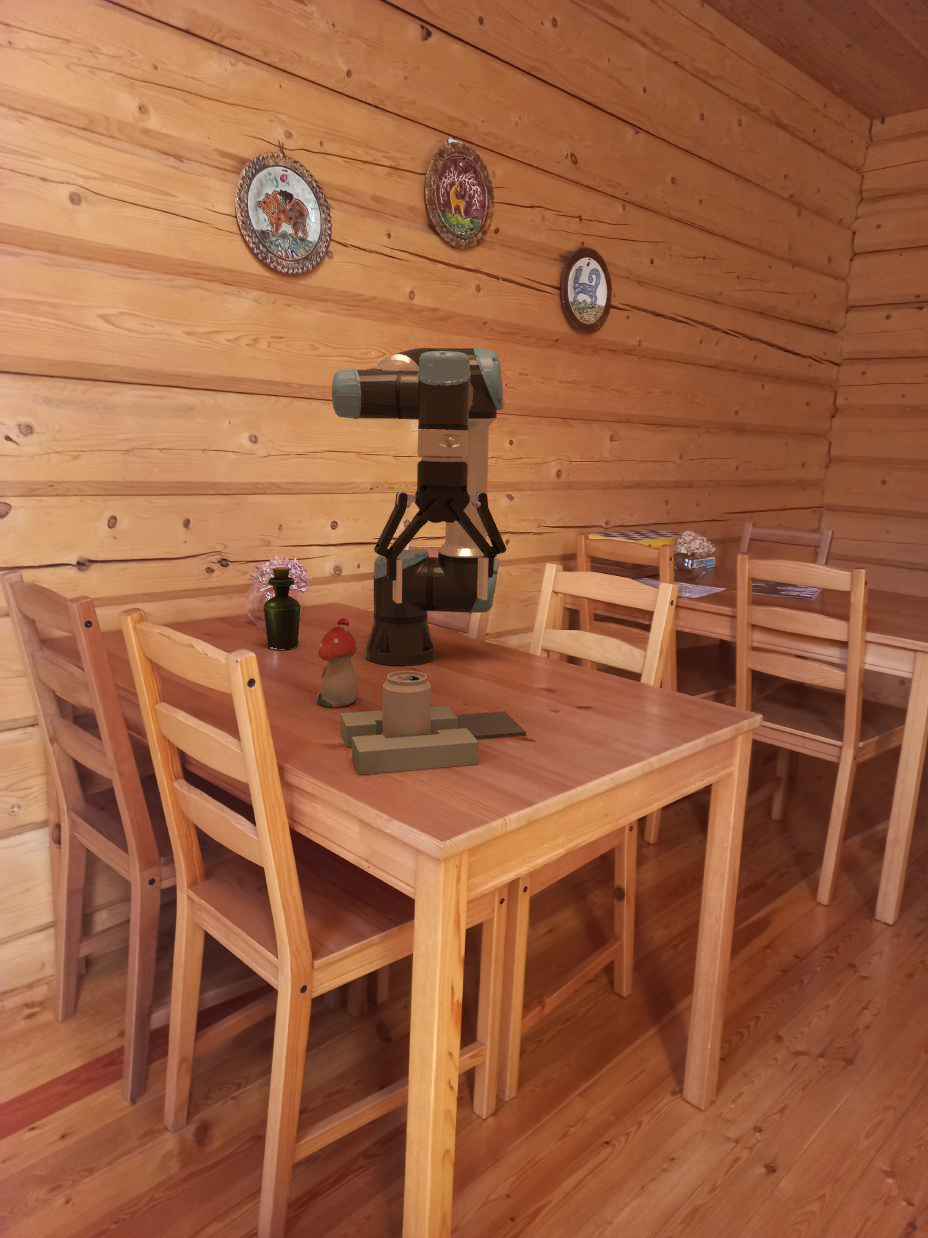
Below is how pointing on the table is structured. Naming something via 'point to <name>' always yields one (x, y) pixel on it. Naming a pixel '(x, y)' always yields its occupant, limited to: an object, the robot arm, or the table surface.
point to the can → (406, 705)
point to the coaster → (490, 725)
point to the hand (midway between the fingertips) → (440, 600)
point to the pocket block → (407, 743)
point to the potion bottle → (282, 612)
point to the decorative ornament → (338, 667)
